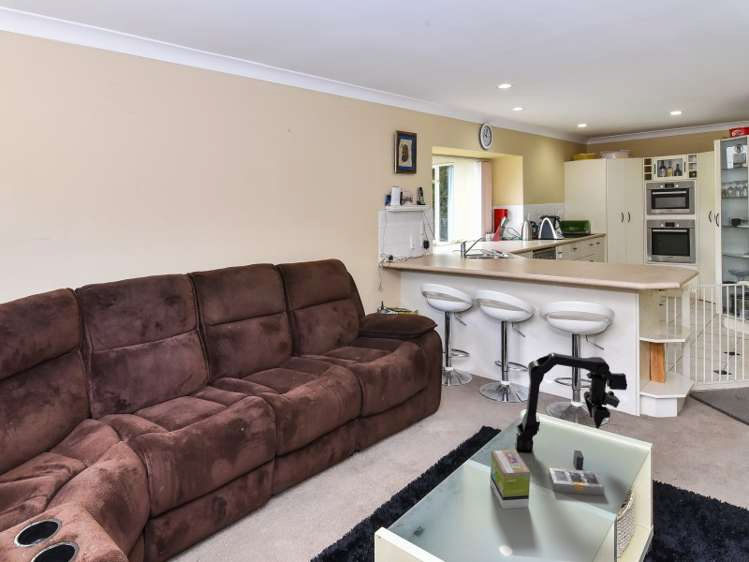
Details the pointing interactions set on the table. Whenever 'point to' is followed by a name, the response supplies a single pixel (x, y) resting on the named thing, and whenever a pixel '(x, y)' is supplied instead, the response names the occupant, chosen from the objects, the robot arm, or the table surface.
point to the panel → (578, 460)
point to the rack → (576, 481)
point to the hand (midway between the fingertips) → (594, 422)
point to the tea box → (510, 479)
